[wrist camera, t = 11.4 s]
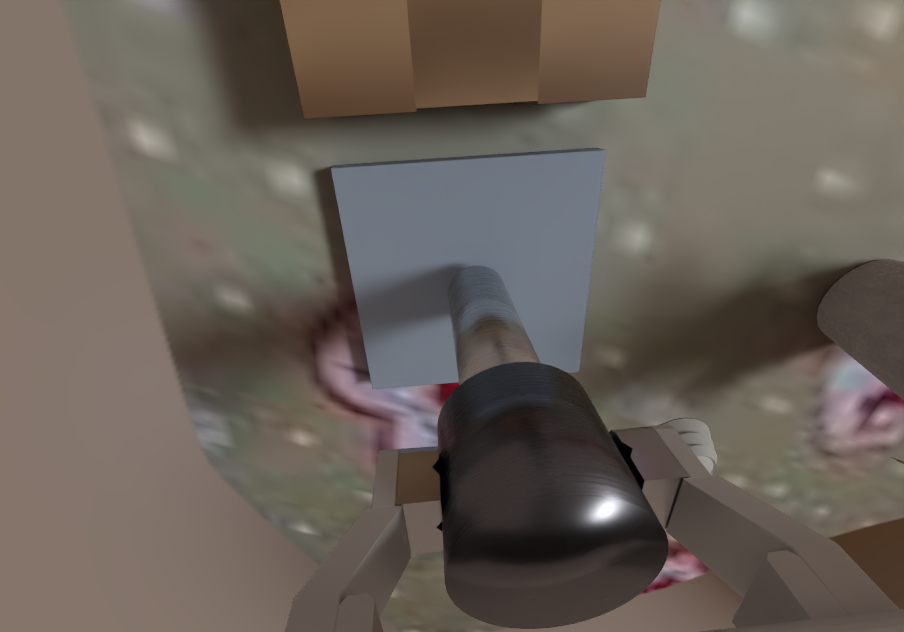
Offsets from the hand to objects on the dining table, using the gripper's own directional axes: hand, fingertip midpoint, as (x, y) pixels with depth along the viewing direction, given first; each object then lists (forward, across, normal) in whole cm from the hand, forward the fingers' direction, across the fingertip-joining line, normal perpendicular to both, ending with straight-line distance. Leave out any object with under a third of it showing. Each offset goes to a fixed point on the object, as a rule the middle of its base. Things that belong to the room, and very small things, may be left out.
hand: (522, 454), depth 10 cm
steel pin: (+10, 0, 0) cm, 10 cm away
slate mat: (+12, 0, 0) cm, 12 cm away
